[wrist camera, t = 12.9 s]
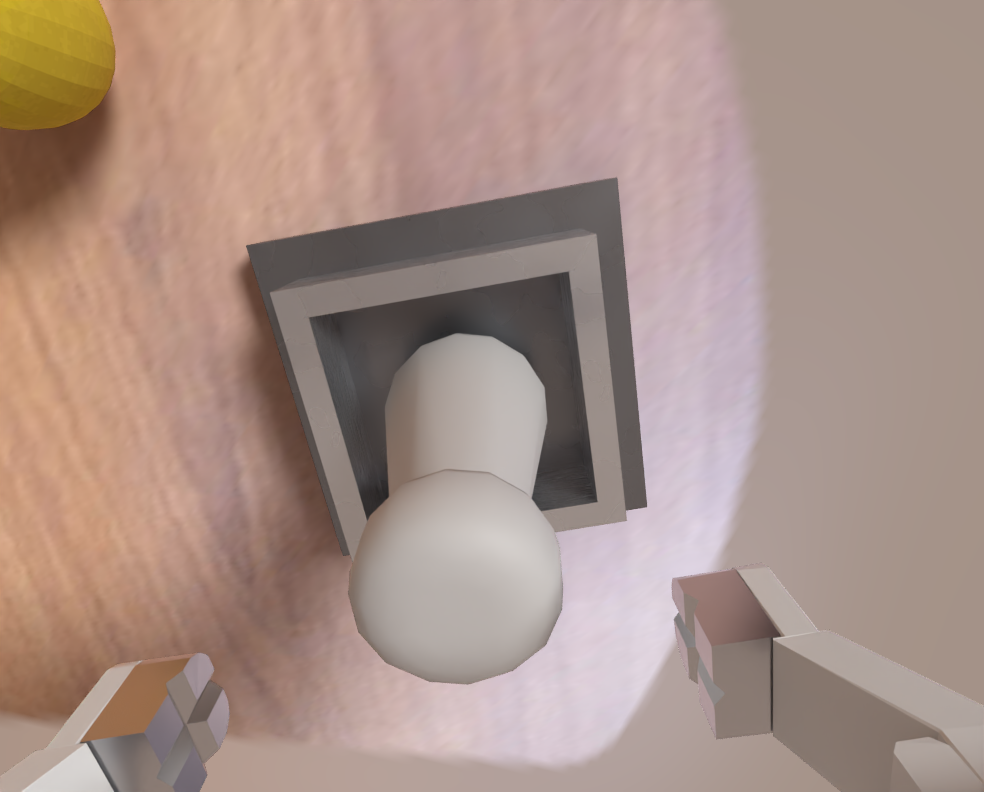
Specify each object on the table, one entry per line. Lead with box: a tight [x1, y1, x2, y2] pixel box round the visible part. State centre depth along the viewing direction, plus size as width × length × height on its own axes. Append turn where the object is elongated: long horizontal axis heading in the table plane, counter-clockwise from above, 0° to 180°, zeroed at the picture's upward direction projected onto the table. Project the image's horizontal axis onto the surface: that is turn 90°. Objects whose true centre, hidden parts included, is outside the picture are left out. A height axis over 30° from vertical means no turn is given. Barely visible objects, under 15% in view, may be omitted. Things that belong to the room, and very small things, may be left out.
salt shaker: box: [348, 333, 563, 684], centre depth 16 cm, size 6×6×13 cm
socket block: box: [246, 178, 647, 562], centre depth 22 cm, size 14×14×4 cm
